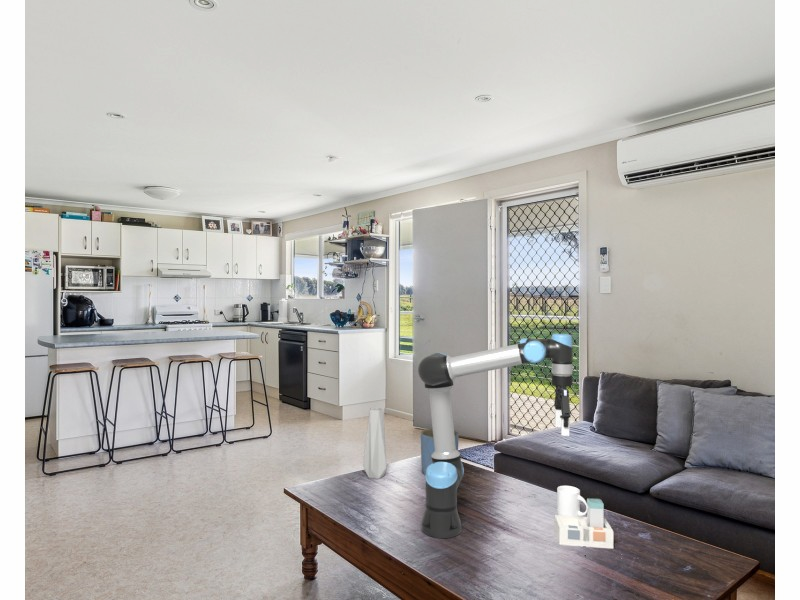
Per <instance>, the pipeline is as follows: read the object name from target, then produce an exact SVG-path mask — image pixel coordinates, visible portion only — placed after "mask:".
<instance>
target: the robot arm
mask: <svg viewBox="0 0 800 600" xmlns="http://www.w3.org/2000/svg"><path fill="white" fill-rule="evenodd" d="M573 346H574V345H573V337H572V335H571V334H569V333H552V335H551V338H531V337H529V338H528V337H526V338H520V340H519V343H516V344H511V345H507V346H501V347H496V348H492V349H491V348H490V349H487V350H482V351H476V352H471V353H467V354H461V355H457V356H451V355H447V354H445V353H442V352H435V353H431V354H430V355H428V356H426V357H424V358H423V359H422V360H421V361H420V363H419V365H418V368H417V372H418V376H419V378H420V380H421V381H422V382H423V383H424V389H425V390H426V391H428V394H429V405H430V407H429V408H430V416H431V425H432V428H431V429H433V438H434V448H435V451H434V453H433V454H432V455H431V456H432V464H430V465H429V466H428V467H427V469H426V475H424V476H425V508H424V512H423V515H422V519H421V521H420V530H421V532H422V533H423V534H425V535H426V536H429V537H432V538H434V539H435V538H436V539H450V538H454V537H456V536H459V535H460V534H461V532H462V522H461V518H460V515H459V513H458V512H459V511H458V508H457V507H458V501H457V500H458V489H459V488H458V487H459V486H460V483H461V482H462V480H463V477H464V476H465V475H464V474H465V469H464V465H463V462H462V458H461V452H459V450H458V451H457V450H456V445H455V435H454V431H455V426H454V417H453V416H454V414H453V407H452V395H451V390H452V388H453V387H454V380H455V379H456V378H459V377H465V376H469V375H474V374H479V373H484V372H489V371H494V370H499V369H505V368H510V367H517V366H520V365H526V364H530V363H532V364H538V363H540V362H542V361H543V360H544V359H551V373H552V375H551V385H552V386H555V393H554V394H555V395H554V405H553V407H554V410H555V411H554V417H555V418H554V419H555V420H554V425H555V426H554V427H556V428H560V430H561V433H560V435H561V436H564V437H566V436H567V437H570V418H571V416H572V415H571V406H570V391H569V389H567V387H572V386H573V369H575V366H574V365H573V361H574V360H573V359H574V358H573V355H574V353H573V352H574V349H573V348H574V347H573Z"/></svg>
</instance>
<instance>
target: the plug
mask: <svg viewBox="0 0 800 600" xmlns="http://www.w3.org/2000/svg"><path fill="white" fill-rule="evenodd" d="M586 503H587V513H586V514H587V516H586V517H587V526H588V527H602V528H603V518H604V506H605V505H604V503H603V501H602V499H601V498H590V497H589V498H588V497H587V499H586Z"/></svg>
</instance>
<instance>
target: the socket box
mask: <svg viewBox="0 0 800 600" xmlns="http://www.w3.org/2000/svg"><path fill="white" fill-rule="evenodd" d="M554 533H555V535H556V536H555V537H556V539H557V543H558V544H559V545H561V546H572V547H573V546H574V547H583V546H586V547H585V548H587V547H588V548H597V549H599V548H600V549H612V550H613V549H614V529H613V528H612V527H611V525H610V523H609V522H608V520H607V519H606V517H603V528H602V527H588V526H587V516H566V515H558V514H554Z"/></svg>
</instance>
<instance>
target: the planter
mask: <svg viewBox="0 0 800 600" xmlns="http://www.w3.org/2000/svg"><path fill="white" fill-rule="evenodd" d="M454 435H455V445H456V450H457V451H458V452H459V438H460V437H459V435H460V434H459V432H458V431H457V430H454ZM434 451H435V448H434V438H433V428H426V429H423V430H421V431H420V459H421V471H422V474H423V475H424V476H425V475H426V469H427V467H428V466H429V465H430V464H432V456H431V455H432V454H433V453H434Z"/></svg>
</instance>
